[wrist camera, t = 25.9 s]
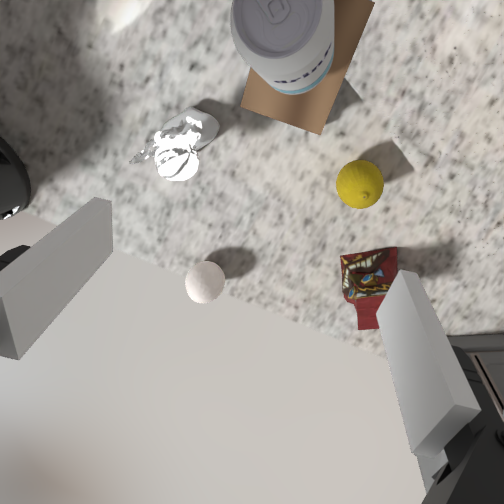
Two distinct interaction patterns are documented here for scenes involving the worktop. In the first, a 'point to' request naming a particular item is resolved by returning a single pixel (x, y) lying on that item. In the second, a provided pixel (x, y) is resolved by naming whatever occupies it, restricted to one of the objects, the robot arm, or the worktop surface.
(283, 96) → the walnut brick
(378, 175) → the lemon
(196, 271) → the egg
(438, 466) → the toaster
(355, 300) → the tiki totem
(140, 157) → the figurine
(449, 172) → the worktop surface
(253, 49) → the beverage can
